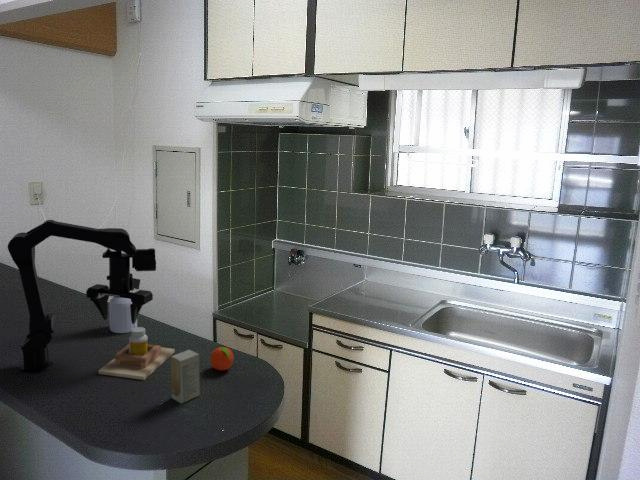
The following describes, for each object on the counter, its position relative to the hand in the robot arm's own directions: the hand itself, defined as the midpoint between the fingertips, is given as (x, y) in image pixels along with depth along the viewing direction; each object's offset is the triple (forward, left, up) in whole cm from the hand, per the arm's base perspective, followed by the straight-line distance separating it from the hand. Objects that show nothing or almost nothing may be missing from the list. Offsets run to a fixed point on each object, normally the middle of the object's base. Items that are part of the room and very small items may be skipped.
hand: (119, 321), depth 158 cm
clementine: (+1, -32, -12) cm, 35 cm away
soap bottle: (+22, +12, -12) cm, 28 cm away
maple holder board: (-1, -6, -12) cm, 14 cm away
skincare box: (-17, -28, -12) cm, 35 cm away
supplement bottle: (-1, -6, -11) cm, 13 cm away
